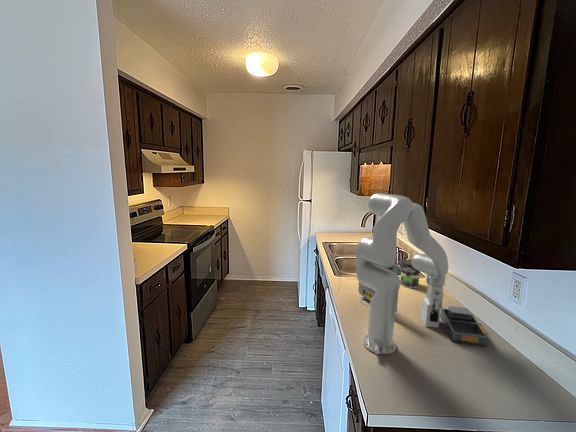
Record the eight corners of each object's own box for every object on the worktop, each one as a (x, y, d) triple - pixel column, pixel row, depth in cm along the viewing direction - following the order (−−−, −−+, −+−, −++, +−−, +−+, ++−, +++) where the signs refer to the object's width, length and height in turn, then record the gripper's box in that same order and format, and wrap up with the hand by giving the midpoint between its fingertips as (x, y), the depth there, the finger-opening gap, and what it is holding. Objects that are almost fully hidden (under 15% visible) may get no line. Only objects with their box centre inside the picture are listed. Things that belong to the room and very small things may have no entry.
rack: (487, 347, 120) (488, 337, 119) (452, 342, 123) (453, 332, 122) (469, 320, 140) (470, 311, 140) (440, 316, 144) (441, 307, 143)
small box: (438, 328, 133) (441, 306, 131) (425, 326, 134) (427, 304, 132) (433, 319, 141) (435, 298, 139) (420, 317, 142) (422, 296, 140)
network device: (400, 316, 143) (403, 276, 139) (385, 319, 139) (388, 279, 136) (367, 294, 166) (369, 259, 162) (353, 296, 163) (355, 261, 159)
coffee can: (416, 289, 173) (418, 266, 170) (397, 285, 179) (399, 262, 176) (420, 284, 181) (422, 261, 179) (402, 279, 187) (404, 258, 185)
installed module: (470, 327, 132) (472, 314, 131) (450, 324, 135) (451, 312, 133) (466, 320, 138) (467, 308, 137) (447, 317, 140) (448, 305, 139)
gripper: (449, 289, 124) (445, 327, 128) (440, 274, 141) (436, 308, 144) (429, 287, 126) (426, 325, 129) (423, 272, 143) (419, 306, 146)
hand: (431, 316), depth 137 cm, fingers closed on small box, 8 cm apart
